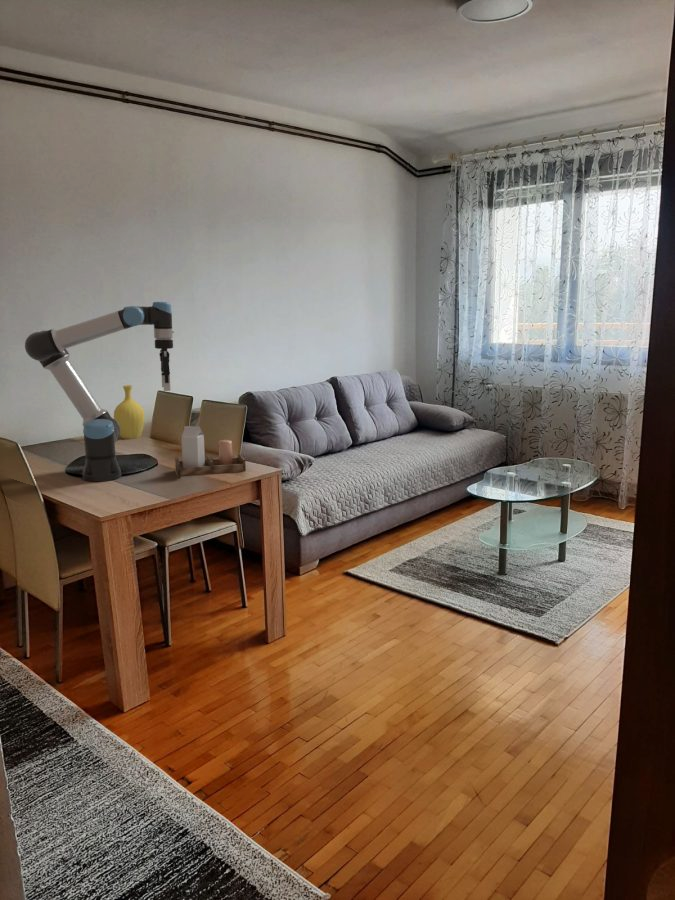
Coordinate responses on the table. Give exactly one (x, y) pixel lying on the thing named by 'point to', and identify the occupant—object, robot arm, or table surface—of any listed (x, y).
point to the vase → (129, 416)
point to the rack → (211, 466)
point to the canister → (225, 452)
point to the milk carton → (193, 447)
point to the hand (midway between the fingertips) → (166, 389)
